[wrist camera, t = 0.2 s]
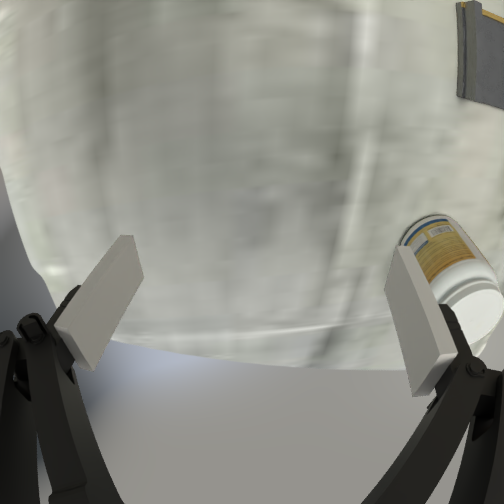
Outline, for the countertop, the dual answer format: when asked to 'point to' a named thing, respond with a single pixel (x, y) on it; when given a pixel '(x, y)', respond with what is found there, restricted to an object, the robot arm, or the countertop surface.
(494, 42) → the cradle
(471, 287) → the supplement tub
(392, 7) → the countertop surface
